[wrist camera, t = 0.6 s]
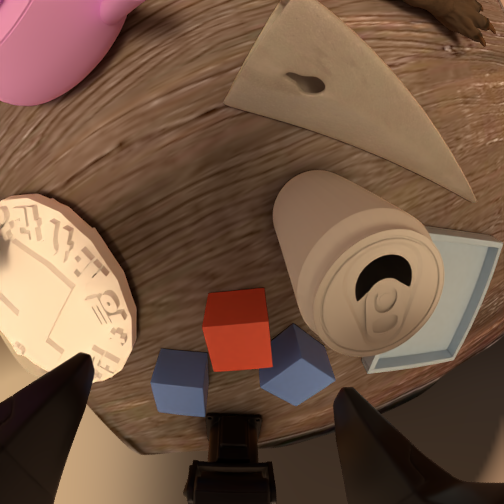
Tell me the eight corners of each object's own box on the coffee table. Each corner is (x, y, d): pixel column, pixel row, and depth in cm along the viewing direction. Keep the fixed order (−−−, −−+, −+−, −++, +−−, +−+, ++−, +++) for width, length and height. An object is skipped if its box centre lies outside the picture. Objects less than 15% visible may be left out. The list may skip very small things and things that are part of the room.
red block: (268, 331, 25) (272, 367, 21) (217, 335, 25) (213, 372, 21) (264, 287, 23) (268, 321, 19) (208, 292, 23) (201, 327, 19)
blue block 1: (208, 383, 27) (205, 417, 23) (166, 379, 27) (158, 412, 23) (207, 352, 26) (203, 388, 22) (160, 348, 25) (150, 382, 21)
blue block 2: (290, 372, 27) (296, 406, 23) (257, 351, 26) (259, 387, 22) (324, 346, 26) (336, 380, 22) (293, 322, 25) (301, 358, 20)
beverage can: (349, 161, 19) (457, 203, 8) (359, 242, 22) (442, 339, 11) (262, 178, 20) (288, 241, 9) (280, 260, 22) (312, 381, 11)
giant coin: (-33, 251, 21) (-48, 262, 18) (56, 144, 18) (34, 148, 15) (62, 381, 28) (54, 397, 25) (182, 340, 25) (177, 362, 22)
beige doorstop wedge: (504, 120, 17) (309, -53, 9) (520, 196, 15) (296, -7, 8) (432, 147, 26) (247, 36, 18) (435, 213, 25) (221, 106, 17)
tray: (445, 349, 28) (453, 360, 26) (360, 360, 27) (367, 374, 25) (490, 235, 22) (503, 242, 20) (403, 222, 21) (416, 231, 19)
